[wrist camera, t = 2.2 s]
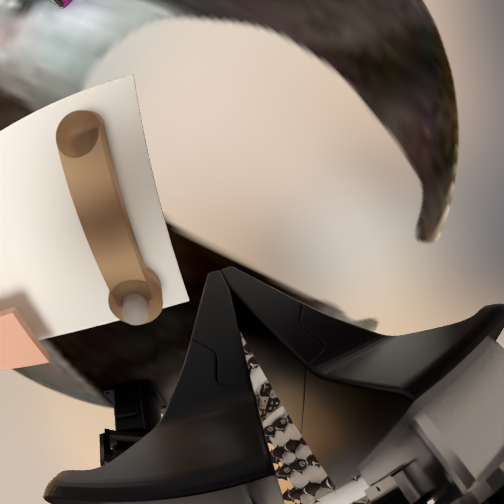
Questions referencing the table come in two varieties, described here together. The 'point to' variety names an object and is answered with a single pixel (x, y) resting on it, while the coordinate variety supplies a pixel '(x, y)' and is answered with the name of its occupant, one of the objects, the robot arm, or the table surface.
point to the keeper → (19, 342)
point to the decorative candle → (297, 450)
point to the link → (106, 218)
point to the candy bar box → (61, 2)
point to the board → (74, 216)
